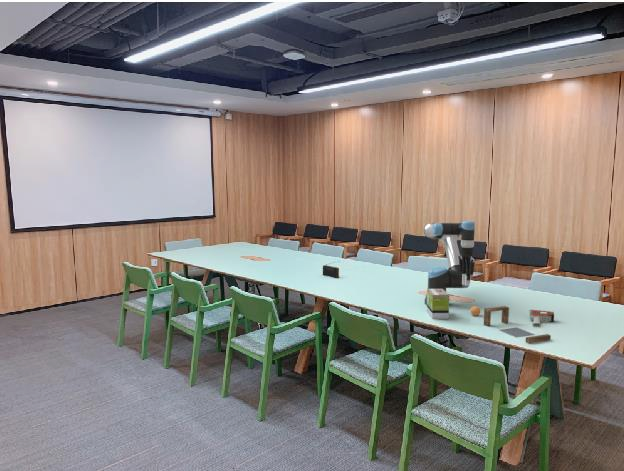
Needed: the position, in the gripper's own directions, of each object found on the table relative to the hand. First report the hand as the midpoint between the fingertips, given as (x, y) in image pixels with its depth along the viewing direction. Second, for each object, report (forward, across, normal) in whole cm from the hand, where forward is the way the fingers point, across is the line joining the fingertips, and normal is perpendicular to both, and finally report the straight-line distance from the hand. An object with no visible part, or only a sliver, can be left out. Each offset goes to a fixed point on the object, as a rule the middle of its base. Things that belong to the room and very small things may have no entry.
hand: (465, 284), depth 271 cm
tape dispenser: (+17, +31, +26) cm, 44 cm away
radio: (+17, -122, -39) cm, 129 cm away
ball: (+14, +10, 0) cm, 17 cm away
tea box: (+17, +2, -21) cm, 27 cm away
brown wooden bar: (+16, +56, 0) cm, 58 cm away
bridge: (+16, +26, 0) cm, 31 cm away
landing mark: (+16, +42, 0) cm, 45 cm away
